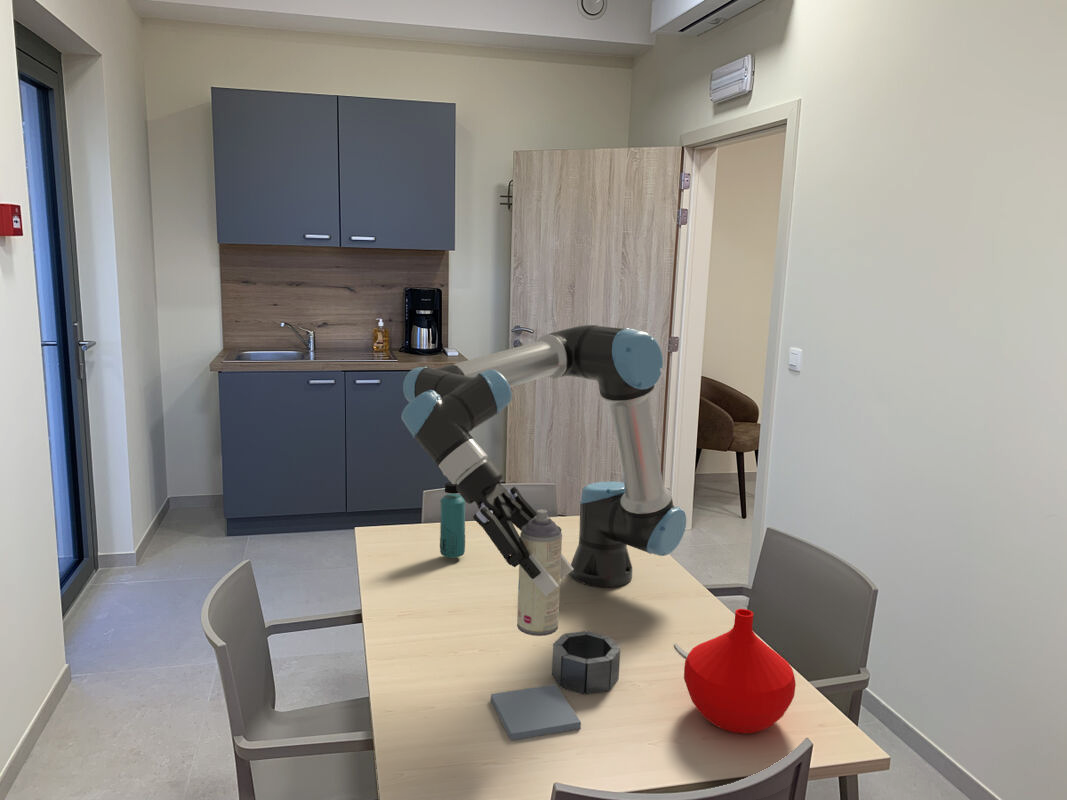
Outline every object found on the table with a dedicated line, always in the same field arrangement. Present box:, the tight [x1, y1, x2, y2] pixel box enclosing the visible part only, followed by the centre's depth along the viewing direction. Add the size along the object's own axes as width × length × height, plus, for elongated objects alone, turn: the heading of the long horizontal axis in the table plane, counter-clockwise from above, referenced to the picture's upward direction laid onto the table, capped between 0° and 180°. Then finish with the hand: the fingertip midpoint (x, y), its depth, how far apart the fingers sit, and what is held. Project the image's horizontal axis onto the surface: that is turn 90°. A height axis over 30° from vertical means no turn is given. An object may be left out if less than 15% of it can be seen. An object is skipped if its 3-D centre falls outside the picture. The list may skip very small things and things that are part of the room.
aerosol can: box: [516, 508, 563, 637], centre depth 129 cm, size 7×7×20 cm
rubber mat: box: [490, 683, 582, 741], centre depth 134 cm, size 12×12×1 cm
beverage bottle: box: [439, 481, 466, 558], centre depth 199 cm, size 6×7×20 cm
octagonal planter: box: [551, 630, 621, 695], centre depth 146 cm, size 12×12×6 cm
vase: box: [683, 608, 797, 735], centre depth 134 cm, size 18×18×19 cm
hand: (559, 582), depth 128 cm, fingers closed on aerosol can, 7 cm apart
